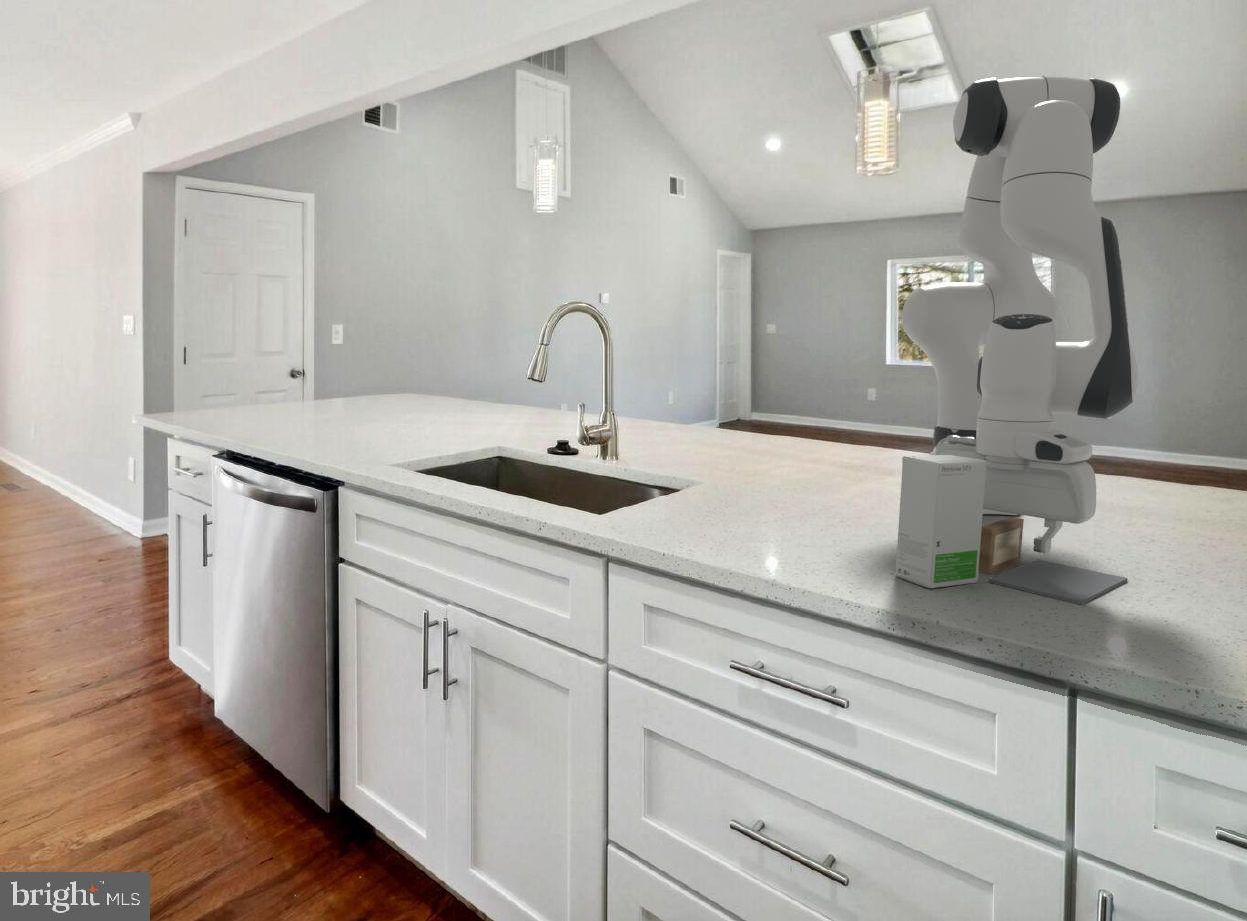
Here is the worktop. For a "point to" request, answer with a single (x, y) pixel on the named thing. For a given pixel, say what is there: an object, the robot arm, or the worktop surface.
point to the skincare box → (940, 520)
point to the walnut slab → (1000, 544)
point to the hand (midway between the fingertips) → (1004, 544)
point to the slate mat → (1058, 581)
